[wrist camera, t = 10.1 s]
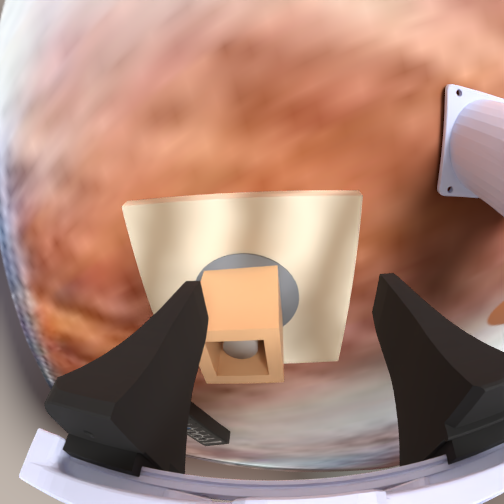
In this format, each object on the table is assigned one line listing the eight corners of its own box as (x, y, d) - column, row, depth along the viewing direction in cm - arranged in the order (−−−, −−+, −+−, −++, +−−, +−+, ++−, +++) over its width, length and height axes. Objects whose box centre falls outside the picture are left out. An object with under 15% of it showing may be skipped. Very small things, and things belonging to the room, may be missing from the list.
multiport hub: (167, 377, 32) (162, 393, 30) (231, 430, 38) (230, 444, 36) (140, 382, 33) (135, 397, 31) (206, 433, 39) (204, 446, 37)
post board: (358, 190, 19) (388, 232, 14) (336, 352, 27) (345, 405, 22) (127, 201, 20) (86, 242, 15) (172, 353, 29) (158, 402, 23)
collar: (277, 265, 21) (278, 327, 16) (282, 319, 24) (284, 381, 19) (204, 270, 22) (185, 331, 17) (218, 323, 24) (206, 383, 19)
